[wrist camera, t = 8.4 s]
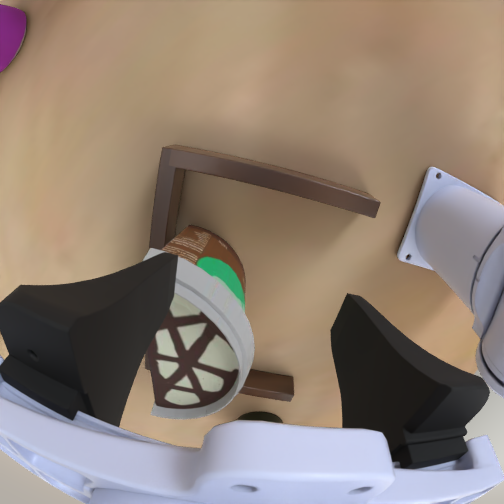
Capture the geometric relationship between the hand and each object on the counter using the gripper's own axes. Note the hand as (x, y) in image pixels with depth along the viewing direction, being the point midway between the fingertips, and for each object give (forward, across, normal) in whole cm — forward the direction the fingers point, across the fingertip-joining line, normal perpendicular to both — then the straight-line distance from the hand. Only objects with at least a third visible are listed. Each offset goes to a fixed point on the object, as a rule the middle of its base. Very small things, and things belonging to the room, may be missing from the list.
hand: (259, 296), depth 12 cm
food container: (+10, +2, +6) cm, 12 cm away
